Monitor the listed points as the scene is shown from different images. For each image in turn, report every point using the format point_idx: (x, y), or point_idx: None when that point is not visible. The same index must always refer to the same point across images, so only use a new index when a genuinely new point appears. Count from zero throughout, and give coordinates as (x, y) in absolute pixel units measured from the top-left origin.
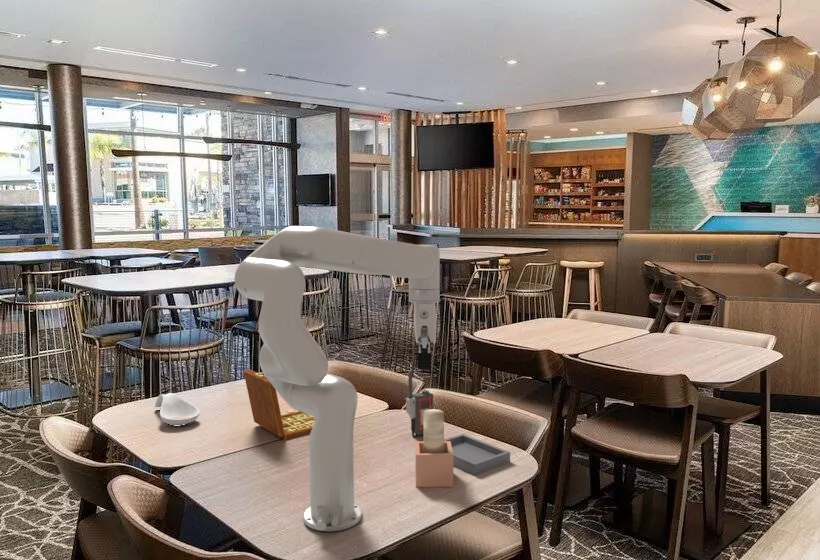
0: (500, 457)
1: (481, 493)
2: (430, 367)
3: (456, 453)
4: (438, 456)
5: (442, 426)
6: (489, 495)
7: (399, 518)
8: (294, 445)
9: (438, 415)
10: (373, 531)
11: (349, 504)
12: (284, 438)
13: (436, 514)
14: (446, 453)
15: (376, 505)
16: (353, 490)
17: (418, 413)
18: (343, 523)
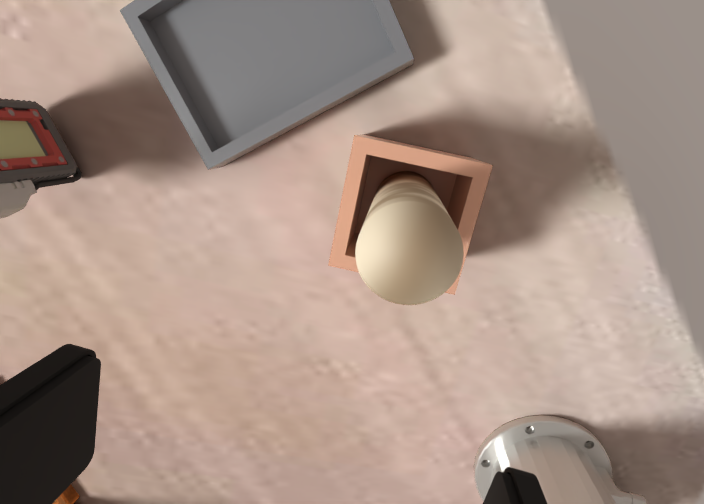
0: None
1: (544, 85)
2: (535, 486)
3: (258, 80)
4: (476, 218)
5: (443, 207)
6: (566, 64)
7: (604, 342)
8: (117, 482)
9: (462, 244)
10: (643, 408)
11: (599, 477)
12: (75, 499)
13: (621, 252)
14: (473, 187)
15: (516, 376)
16: (592, 486)
17: (13, 168)
18: (604, 467)
